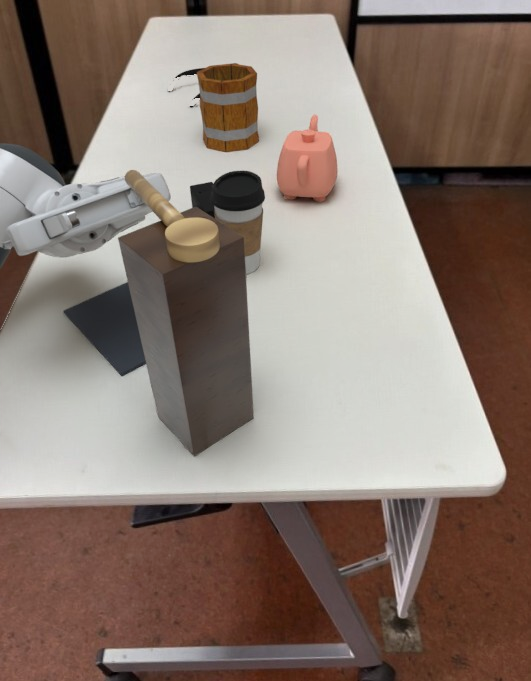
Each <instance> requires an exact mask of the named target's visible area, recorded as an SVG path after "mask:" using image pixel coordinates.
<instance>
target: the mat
mask: <svg viewBox="0 0 531 681" xmlns="http://www.w3.org/2000/svg"><path fill="white" fill-rule="evenodd" d="M62 311H63V314H64V315H65V316H66V317H67V318H68V319H69V321H71V322H72V323H73V325H74V326H75V327H76V328H77V329H78V330H79V331H80V332H81V334H82V335H83V336H84V337H85V338H86V340H88V341H89V342H90V344H92V346H94V348H95V349H96V350H97V351H98V352H99V353H100V354H101V356H102V357H104V359H106V361H108V363H109V364H110V365H111V366H112V368H114V369H115V371H117V372H118V374H119V375H120V376H121V377H123V376H125V375H127V374H129V373H131V372H133V371H135V370H136V369H138V368H140V367H142V366H143V365H146V360H145V356H144V352H143V347H142V343H141V338H140V334H139V329H138V325H137V320H136V316H135V311H134V307H133V303H132V298H131V294H130V289H129V285H128V281H127V282H126V281H125V282H124V283H122V284H119V285H117V286H115V287H113V288H111V289H109V290H106V291H104V292H101V293H99V294H97V295H95V296H93V297H90V298H88V299H85V300H84V301H82V302H79V303H76V304H75V305H73V306H71V307H68V308H65V309H63V310H62Z"/></svg>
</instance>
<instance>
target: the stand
mask: <svg viewBox="0 0 531 681" xmlns="http://www.w3.org/2000/svg"><path fill="white" fill-rule="evenodd" d="M180 213H181V214H182V215H183V216H184V217H185V218H204V219H208V220H211V221H212V222H214V223H215V224H216V225H217V227H218V231H219V242H220V248H219V251H218V252H217V253H216V254H215V255H214V256H213V257H211V258H209V259H207V260H204V261H200V262H181V261H178V260H175V259H173V258H172V257H171V256H170V255H169V254H168V250H167V244H166V238H165V231H166V229H167V226H166V225H165V224H164V223H163V222H162V221H161V220H159V221H157V222H153V223H151V224H148V225H146V226H143V227H141V228H138V229H136V230H134V231H130V232H129V233H126V234H124V235H121V236H118V237H117V240H118V244H119V248H120V249H119V250H120V253H121V257H122V262H123V267H124V271H125V275H126V281H127V282H128V285H129V289H130V294H131V298H132V303H133V307H134V311H135V316H136V320H137V325H138V329H139V334H140V338H141V343H142V347H143V352H144V356H145V360H146V364H145V365H146V369H147V373H148V378H149V382H150V387H151V391H152V395H153V400H154V404H155V409H156V413H157V417H158V418H159V420H160V421H161V422H162V423H163V425H165V427H167V428H168V430H169V431H170V433H172V434H173V435H174V436H175V437H176V438H177V439H178V440H179V441H180V443H181V444H182V445H183V446H184V447H185V449H187V450H188V452H190V454H191V455H193V457H196V456H197V455H199V454H200V453H202V452H203V451H205V450H206V449H208V448H209V447H211V446H213V445H214V444H216V443H217V442H219V441H220V440H222V439H224V438H225V437H226V436H228V435H230V434H232V433H233V432H234V431H236V430H237V429H239V428H241V427H242V426H244V425H245V424H247V423H249V422H250V421H251V420H253V419H255V418H254V416H255V415H254V399H253V397H254V396H253V379H252V378H253V377H252V361H251V343H250V341H251V340H250V323H249V307H248V306H249V304H248V289H247V287H248V286H247V274H246V267H245V248H244V237H243V236H241V235H239V234H238V233H236V232H235V231H233V230H232V229H230V228H229V227H227V226H225V225H224V224H222V223H221V222H219V221H218V220H216V219H215V218H213V217H211V216H210V215H208V214H207V213H205V212H204V211H202V210H200V209H199V208H197V207H193V208H192V207H191V208H187V209H185V210H183V211H181V212H180Z"/></svg>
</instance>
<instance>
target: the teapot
mask: <svg viewBox="0 0 531 681" xmlns="http://www.w3.org/2000/svg"><path fill="white" fill-rule="evenodd" d="M318 119H319V117H318V115H317V114H313V115H312V116H311V117H310V120H309V121H310V122H309V127H308V129H304V130H292V131H291V132H289V134H288V135H287V136H286V137H285V139H284V141H283V145H282V147H281V150H280V153H279V156H278V160H277V167H276V184H277V187H278V189H279V191H280V193H281V194H282V195H284V196H283V197H284V199H286V200H294V199H296V198H297V197H300V198H303V197H304V198H313V200H314V201H315V202H324V201H326V199H327V198H326V197H327V196H328V195H329V194H330V193H331V191H332V189H333V187H334V186H335V184H336V182H337V179H338V172H339V171H338V170H339V169H338V158H337V154H336V149H335V145H334V141H333V137H332V134H330V133H329V132H327V131H319V129H318V122H319V121H318Z"/></svg>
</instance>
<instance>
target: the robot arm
mask: <svg viewBox="0 0 531 681" xmlns="http://www.w3.org/2000/svg"><path fill="white" fill-rule="evenodd" d="M142 176H143V177H144V178H145V179H146V180H147V181H148V182H149V183H150V184H151V185H152V186H153V187H154V188H155V189H156V190H157V191H158V192H159V193H160V194H161V195H162V196H163V197H164V198H165V199H166V200H167V201H168V202H169V203H170V201H171V199H172V198H171V197H172V196H171V192H170V191H171V190H170V188H169V186H168V184H167V183H168V182H166V179H165V177H164V176H163V174H162V173H160V172H152V173H148V174H144V175H143V174H142ZM152 212H153V211H152V210H151V209H150V208H149V207H148V206H147V205H146V204H145V203H144V202H143V200H142V199H141V198H140V197H139V196H138V195H137V194H136V193H135V192H134V191H133V190H132V189H131V188H130V187H129V186H128V185H127V183H126V182H125V175H123V176H121V177H114V178H112V179H107V180H102V181H99V182H84V183H70V184H66V182H65V180H64V179H63V177H62V175H61V174H60V172H59V171H58V170H57V169H56V168H55V167H54V166H53V165H52V164H51V163H49V161H47V160H46V159H45V158H43V157H42V156H41V155H39V154H38V153H36V152H34V151H33V150H31V149H30V148H28V147H25V146H22V145H20V144H15V143H5V142H4V143H2V142H0V270H1V269H2V268H3V266H4V264H5V262H6V261H7V259H8V256H10V253H11V252H12V248H14V250H15V252H16V254H17V255H18V256H19V257H23V256H27V255H31V254H33V253H35V252H39V253H40V254H42V255H45V256H48V257H52V258H60V259H61V258H64V259H65V258H70V257H74V256H77V255H82V254H83V255H84V254H86V253H89V252H90V253H91V252H93V251H96V250H98V249H100V248H102V247H103V246H104V245H105V244H106V243H108V242H109V241H112V239H114V238H115V237H116V236H117V235H119V234H121V233H122V232H124V231H126V230H128V229H129V228H131V227H134V226H136V225H138V224H139V223H142V222H144V221H145V220H146V216H148V215H149V214H151V213H152Z"/></svg>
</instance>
